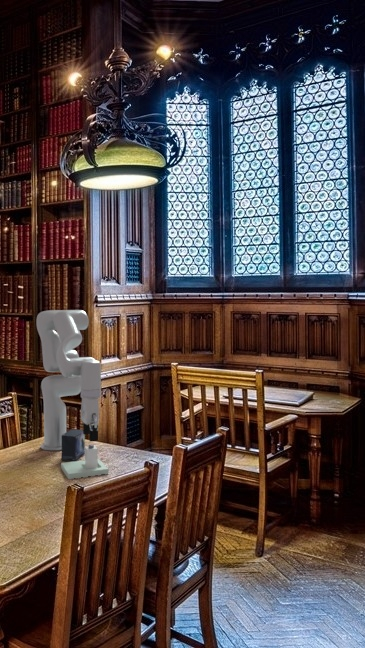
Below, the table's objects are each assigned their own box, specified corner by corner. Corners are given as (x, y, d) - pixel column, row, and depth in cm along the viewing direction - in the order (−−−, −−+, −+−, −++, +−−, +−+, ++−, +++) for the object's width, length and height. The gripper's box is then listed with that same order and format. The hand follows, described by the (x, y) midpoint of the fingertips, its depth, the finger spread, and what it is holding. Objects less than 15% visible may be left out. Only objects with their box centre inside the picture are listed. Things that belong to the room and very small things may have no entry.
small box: (75, 461, 223) (75, 436, 222) (60, 460, 224) (60, 435, 224) (85, 454, 233) (85, 429, 233) (71, 453, 235) (70, 428, 234)
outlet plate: (61, 468, 215) (60, 463, 215) (98, 463, 221) (98, 458, 221) (68, 479, 202) (68, 474, 202) (108, 474, 208) (108, 468, 208)
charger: (84, 470, 213) (84, 444, 212) (95, 468, 214) (95, 443, 214) (87, 473, 209) (87, 447, 208) (97, 472, 211) (97, 446, 210)
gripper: (75, 389, 216) (75, 432, 218) (86, 398, 200) (86, 444, 202) (94, 388, 219) (94, 430, 221) (106, 397, 203) (106, 442, 205)
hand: (90, 437), depth 211 cm, fingers open, 9 cm apart
